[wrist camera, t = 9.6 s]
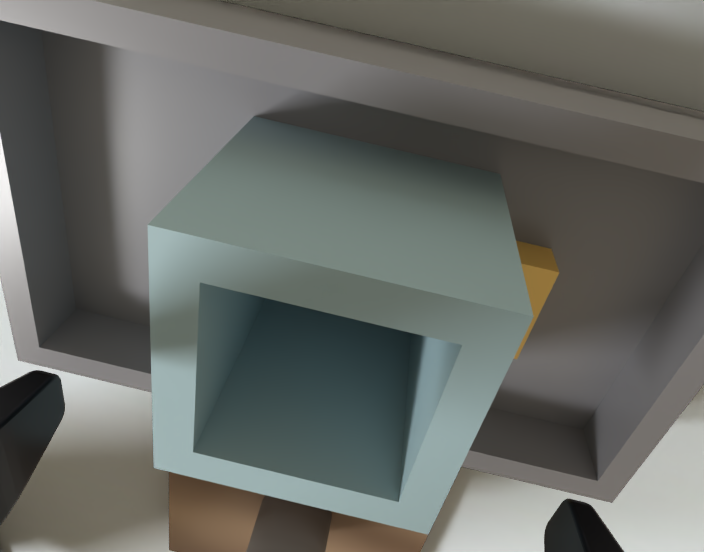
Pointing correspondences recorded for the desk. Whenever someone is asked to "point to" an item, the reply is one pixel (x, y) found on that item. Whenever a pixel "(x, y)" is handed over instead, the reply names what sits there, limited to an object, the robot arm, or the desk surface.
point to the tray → (375, 128)
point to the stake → (269, 524)
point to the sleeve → (334, 321)
